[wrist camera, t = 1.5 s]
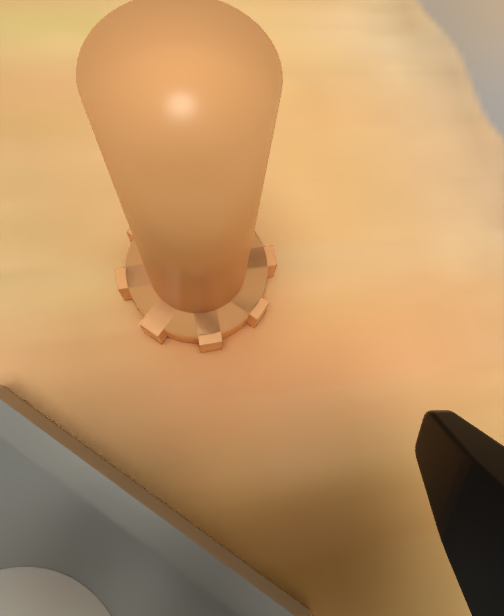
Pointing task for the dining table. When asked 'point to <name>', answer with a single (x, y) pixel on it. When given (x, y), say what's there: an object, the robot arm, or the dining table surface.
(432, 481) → the robot arm
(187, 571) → the grey square tray
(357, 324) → the dining table surface
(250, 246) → the peach joystick knob
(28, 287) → the dining table surface
